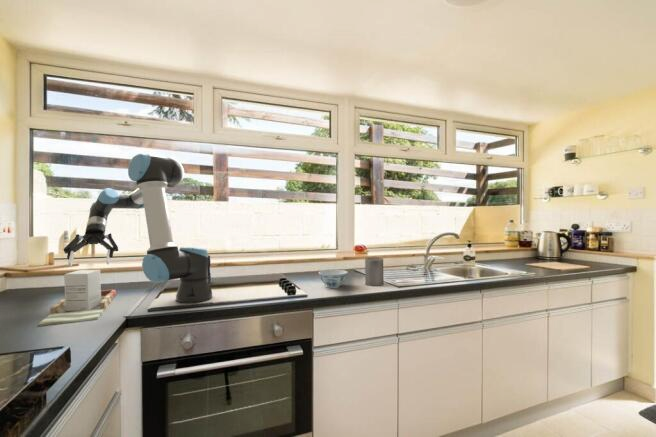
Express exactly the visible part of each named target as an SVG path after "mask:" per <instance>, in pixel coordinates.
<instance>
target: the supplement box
mask: <svg viewBox="0 0 656 437" xmlns="http://www.w3.org/2000/svg"><path fill="white" fill-rule="evenodd" d="M63 275H64V276H63V279H64V280H63V281H64V298H65V308H64V311H65V312H75V311H84V310H93V309H94V308H97V307H98V306H99V307H100V303H101V290H102V288H101V287H102V286H101V283H102V282H101V281H102V280H101V269H80V270H79V269H78V270H75V271H71V272H67V273H65V274H63Z"/></svg>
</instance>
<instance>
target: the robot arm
mask: <svg viewBox="0 0 656 437" xmlns="http://www.w3.org/2000/svg"><path fill="white" fill-rule="evenodd" d="M127 173H128V178H129V179H130V180H131V181H133V182H135V183H136V189H135V190H134V191H132V192H131V193H119V192H118V191H117V190H116V189H114V188H113V189H112V188H110V187H109V188H107V187H106V188H103V190H102V191H101V192H100V193H99V194H98V196H97V199H96V201H95V202H93V203H92V204H91V206H90V209H89V215H88V219H87V224H86V228H85V231H84V235H80V234H78V233H77V234H75V237H74V238H73V239H72V240H71V241H70V242H69V243H68V244H67V245H66V246H64V248H63V252H64V254H67V255H66V258H67V260H68V262H67V264H68V267H69V268H70V267H71V268H72V266H73V262H74V258H75V253H76V252H77V251H79V250H80V249H83V247H86V246H88V245H101V246H102V247H104V248H105V249H106V250H107V254H106V259H105V261H106V265H110V260H111V258H113V257H114V252H118V251H119V246H118V245H117V242H116V241H115V239H114V238H113V235H112V233H108V234H105V233H106V227H107V224H108V223H107V222H108V218H109V214H110V213H111V212H112V210H113V209H126V210H127V209H133V210H134V209H135V210H139V209H140V210H141V209H143V210H144V214H145V221H146V227H147V235H148V240H149V247H148V249H147V250H146V254H145V255H144V257H143V258H142V262H141V268H142V271H143V274H144V276H145V277H146V279H147V280H149V281H150V282H152V283H164V282H168V281H173V280H174V281H175V280H178V279H179V285H178V288H177V292H176V295H175V301H176V302H178V303H183V304H184V303H185V304H187V303H188V304H190V303H199V302H204V301H207V300H210V299H212V298H213V290H212V288H211V285H210V284H209V282H208V250H207V249H206V248H203V247H191V246H190V247H188V246H187V247H185V246H182V247H178V245H177V244H175V243H174V240H173V233H172V228H171V222H170V215H169V210H168V209H169V208H168V204H167V197H166V190H167V189H169V188H174V187H176V186H178V185H179V184H180V183H182V181H183V179H184V177H185V169H184V167H183V165H182V163H181V162H180V161H178V160H177V159H176V158H174V157H169V156H161V155H156V154H155V155H154V154H150V153H136V154H134V156H132V157H131V159H130V162H129V164H128V170H127ZM105 239H107V240H108V241H109V243H108V242H106V240H105ZM110 244H111V245H110Z"/></svg>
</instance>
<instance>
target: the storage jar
mask: <svg viewBox="0 0 656 437" xmlns="http://www.w3.org/2000/svg"><path fill="white" fill-rule="evenodd" d="M207 255H208V254H207ZM211 275H212V274H211V255H210V254H209V255H208V282H209V285H210V284H211V277H212V276H211Z"/></svg>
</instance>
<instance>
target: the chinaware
mask: <svg viewBox="0 0 656 437" xmlns="http://www.w3.org/2000/svg"><path fill="white" fill-rule="evenodd" d="M348 272H349V271H347V270H344V269H337V268H336V269H335V268H334V269H331V268H329V269H323V270H322V269H321V270H320V271H318V276H319V279H320V281H321V282H322V283H323V284H324V285H325V286H326V288H328V289H338V288H340V287H341V285H342V284H343V283H344V282H346V279H347V277H348Z"/></svg>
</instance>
